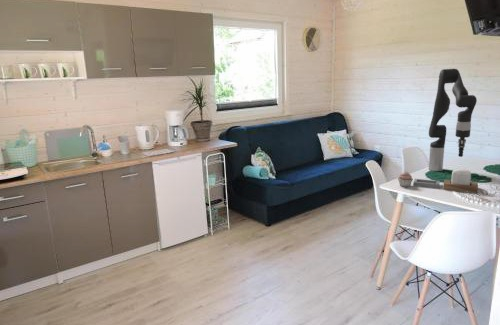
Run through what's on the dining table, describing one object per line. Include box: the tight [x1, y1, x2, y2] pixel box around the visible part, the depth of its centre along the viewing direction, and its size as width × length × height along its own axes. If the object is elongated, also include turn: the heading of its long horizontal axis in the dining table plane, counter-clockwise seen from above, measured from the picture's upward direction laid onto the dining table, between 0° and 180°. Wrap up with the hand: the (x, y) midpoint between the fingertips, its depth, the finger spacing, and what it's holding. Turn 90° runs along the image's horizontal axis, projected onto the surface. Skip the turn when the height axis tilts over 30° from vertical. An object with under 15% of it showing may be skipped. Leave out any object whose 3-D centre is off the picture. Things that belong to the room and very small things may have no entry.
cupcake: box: [397, 170, 414, 188], centre depth 232 cm, size 9×9×10 cm
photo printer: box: [450, 168, 472, 185], centre depth 221 cm, size 10×4×12 cm, turn 65°
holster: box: [412, 178, 441, 189], centre depth 232 cm, size 8×14×2 cm, turn 59°
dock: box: [442, 179, 479, 194], centre depth 222 cm, size 11×18×4 cm, turn 59°
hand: (460, 154), depth 220 cm, fingers open, 8 cm apart
